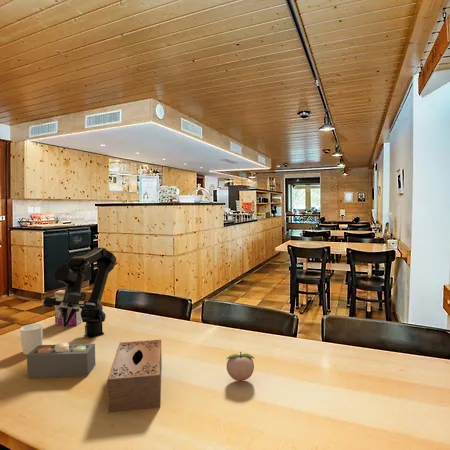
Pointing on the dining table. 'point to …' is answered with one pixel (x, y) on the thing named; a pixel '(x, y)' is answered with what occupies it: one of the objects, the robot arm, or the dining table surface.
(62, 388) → the dining table surface
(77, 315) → the candy bar box
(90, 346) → the tray
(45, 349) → the terracotta button
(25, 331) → the white cup
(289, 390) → the dining table surface
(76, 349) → the sage button
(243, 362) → the decorative fruit
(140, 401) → the tissue box cover
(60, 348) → the cream rounded egg shape
